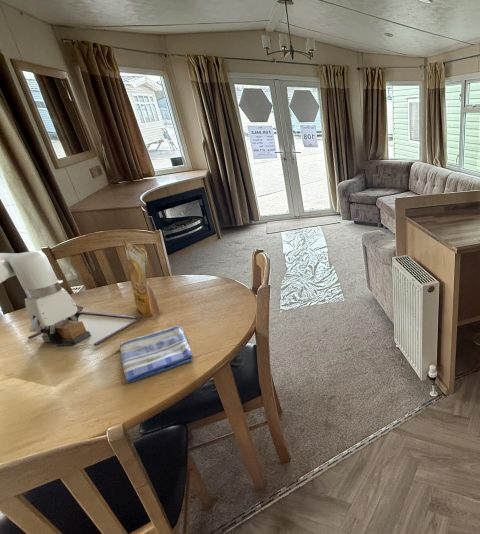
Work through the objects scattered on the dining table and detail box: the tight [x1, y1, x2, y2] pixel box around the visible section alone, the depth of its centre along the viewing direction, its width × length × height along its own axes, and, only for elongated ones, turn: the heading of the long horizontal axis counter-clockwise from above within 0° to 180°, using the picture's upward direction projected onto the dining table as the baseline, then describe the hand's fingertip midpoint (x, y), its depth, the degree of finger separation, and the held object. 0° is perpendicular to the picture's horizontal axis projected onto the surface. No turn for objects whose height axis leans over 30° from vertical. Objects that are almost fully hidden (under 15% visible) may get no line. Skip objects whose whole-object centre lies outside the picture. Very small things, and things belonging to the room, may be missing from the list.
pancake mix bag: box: [121, 239, 160, 317], centre depth 129 cm, size 7×19×28 cm, turn 51°
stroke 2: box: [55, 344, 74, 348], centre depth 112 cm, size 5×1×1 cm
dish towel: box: [119, 325, 194, 384], centre depth 110 cm, size 17×24×3 cm
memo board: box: [27, 310, 144, 347], centre depth 121 cm, size 26×17×2 cm, turn 83°
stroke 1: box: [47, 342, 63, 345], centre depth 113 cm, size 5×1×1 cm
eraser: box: [39, 320, 91, 345], centre depth 114 cm, size 12×5×6 cm, turn 84°
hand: (66, 336), depth 115 cm, fingers closed on eraser, 5 cm apart
